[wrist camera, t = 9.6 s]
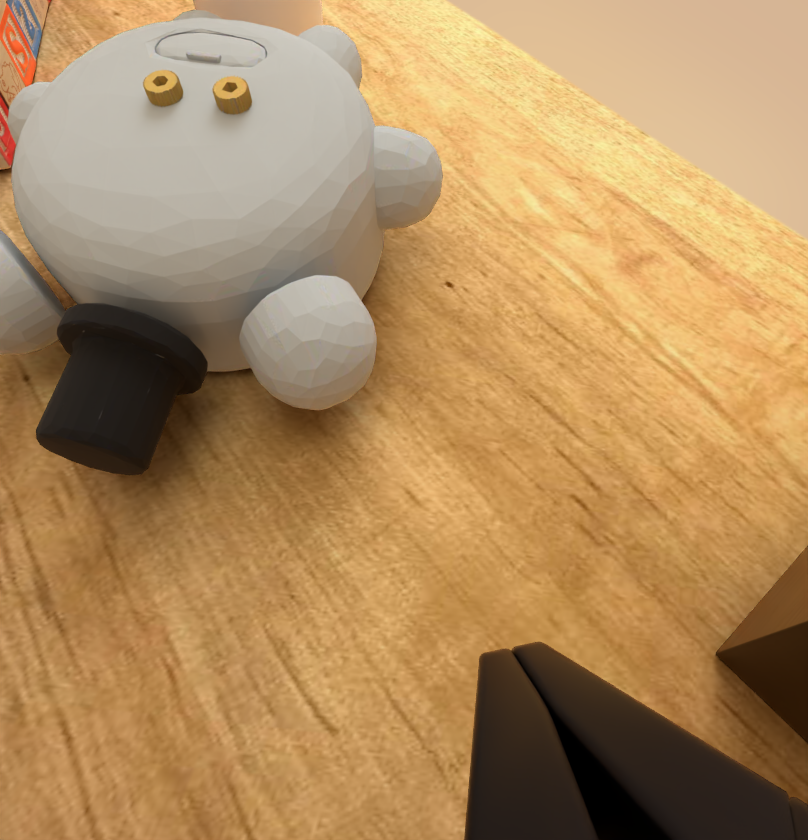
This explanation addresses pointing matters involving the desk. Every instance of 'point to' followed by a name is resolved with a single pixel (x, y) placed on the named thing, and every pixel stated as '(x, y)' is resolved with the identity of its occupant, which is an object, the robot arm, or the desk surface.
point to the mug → (268, 12)
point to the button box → (777, 647)
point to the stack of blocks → (17, 59)
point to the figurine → (201, 224)
